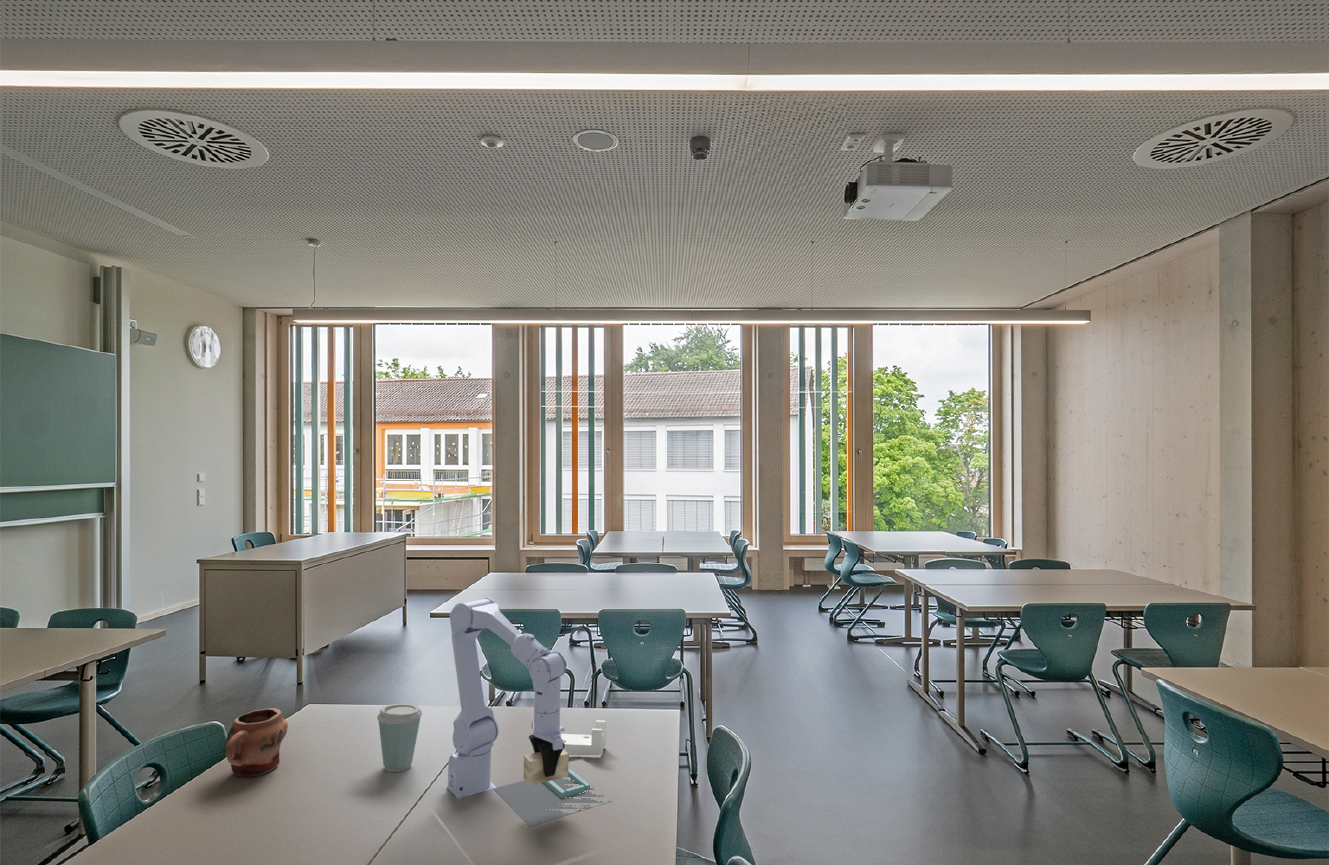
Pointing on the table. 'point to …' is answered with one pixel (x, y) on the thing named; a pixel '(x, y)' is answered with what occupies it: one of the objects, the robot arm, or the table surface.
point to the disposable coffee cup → (398, 735)
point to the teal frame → (570, 791)
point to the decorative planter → (255, 742)
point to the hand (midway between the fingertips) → (545, 771)
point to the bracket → (586, 741)
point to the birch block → (535, 768)
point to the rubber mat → (541, 800)
